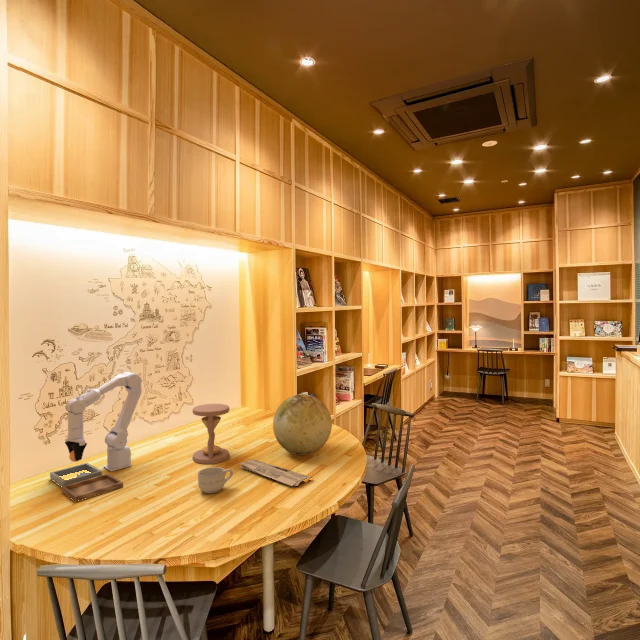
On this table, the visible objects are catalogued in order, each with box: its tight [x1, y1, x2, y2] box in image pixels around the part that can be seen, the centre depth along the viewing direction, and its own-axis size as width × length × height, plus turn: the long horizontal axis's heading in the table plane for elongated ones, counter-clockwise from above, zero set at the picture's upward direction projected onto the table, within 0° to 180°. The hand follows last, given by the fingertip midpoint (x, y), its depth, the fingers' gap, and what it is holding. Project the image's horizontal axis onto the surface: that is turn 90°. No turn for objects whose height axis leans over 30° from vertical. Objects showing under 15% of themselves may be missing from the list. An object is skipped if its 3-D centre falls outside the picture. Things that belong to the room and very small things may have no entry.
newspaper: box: [239, 458, 313, 487], centre depth 185 cm, size 35×12×4 cm, turn 53°
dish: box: [49, 462, 103, 487], centre depth 179 cm, size 15×15×3 cm
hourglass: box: [192, 403, 230, 465], centre depth 205 cm, size 18×18×25 cm
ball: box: [68, 451, 80, 463], centre depth 179 cm, size 5×5×5 cm
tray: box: [61, 473, 124, 502], centre depth 169 cm, size 18×14×2 cm
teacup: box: [197, 466, 234, 494], centre depth 169 cm, size 14×11×8 cm
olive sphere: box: [272, 393, 333, 456], centre depth 212 cm, size 30×30×30 cm
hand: (76, 458), depth 179 cm, fingers closed on ball, 5 cm apart
